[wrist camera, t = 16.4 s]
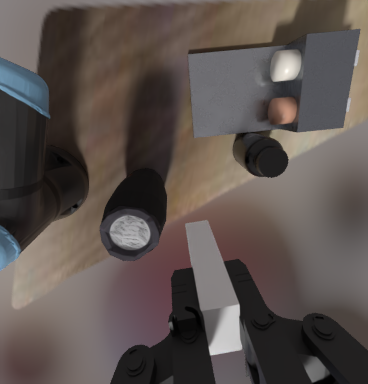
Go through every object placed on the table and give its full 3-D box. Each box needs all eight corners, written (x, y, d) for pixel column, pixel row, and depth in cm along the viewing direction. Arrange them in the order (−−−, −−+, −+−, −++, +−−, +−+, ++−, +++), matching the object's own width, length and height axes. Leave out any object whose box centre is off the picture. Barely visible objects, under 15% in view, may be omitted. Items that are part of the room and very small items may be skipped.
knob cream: (269, 83, 38) (281, 80, 34) (270, 54, 37) (283, 47, 33) (340, 76, 39) (360, 72, 35) (345, 47, 37) (367, 39, 33)
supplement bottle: (251, 124, 43) (280, 130, 31) (270, 149, 45) (304, 163, 33) (224, 148, 44) (243, 163, 33) (245, 171, 46) (269, 192, 35)
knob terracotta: (267, 123, 41) (278, 125, 37) (268, 98, 39) (280, 97, 35) (334, 117, 41) (352, 118, 37) (338, 92, 40) (357, 90, 35)
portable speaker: (118, 169, 44) (83, 212, 26) (164, 163, 44) (160, 201, 26) (128, 206, 47) (101, 268, 29) (170, 201, 47) (170, 258, 29)
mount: (193, 137, 43) (197, 142, 36) (187, 55, 38) (191, 44, 31) (317, 124, 43) (343, 127, 37) (327, 42, 38) (360, 29, 32)
